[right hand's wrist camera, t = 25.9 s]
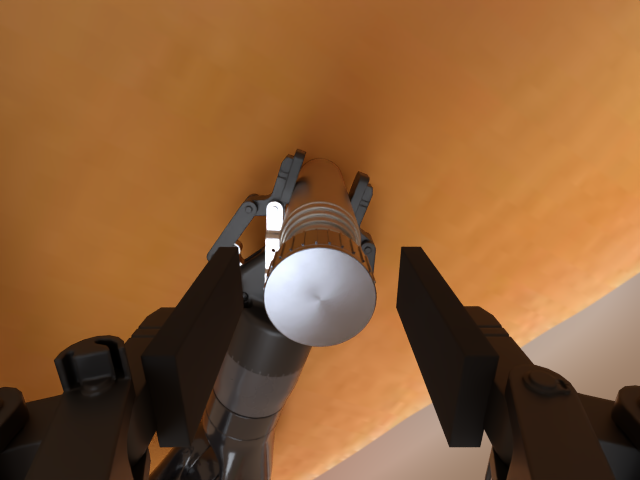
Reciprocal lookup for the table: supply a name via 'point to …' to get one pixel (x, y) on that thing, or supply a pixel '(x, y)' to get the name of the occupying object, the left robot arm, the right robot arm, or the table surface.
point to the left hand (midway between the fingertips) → (332, 164)
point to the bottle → (319, 203)
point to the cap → (319, 288)
